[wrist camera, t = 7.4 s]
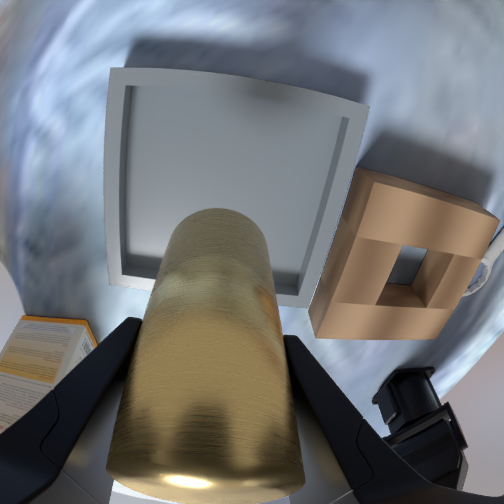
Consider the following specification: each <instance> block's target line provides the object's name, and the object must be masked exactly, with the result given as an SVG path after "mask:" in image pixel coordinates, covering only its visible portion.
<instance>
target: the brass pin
mask: <svg viewBox="0 0 504 504" xmlns="http://www.w3.org/2000/svg"><path fill="white" fill-rule="evenodd" d="M106 471H107V472H108V474H109V475H110V476H111V477H112V478H113V479H114V480H116V481H117V482H119V483H120V484H122V485H124V486H126V487H128V488H130V489H132V490H135V491H137V492H140V493H142V494H145V495H148V496H152V497H155V498H159V499H163V500H167V501H172V502H177V503H184V504H258V503H263V502H268V501H272V500H276V499H280V498H283V497H286V496H288V495H291V494H293V493H295V492H297V491H298V490H300V489H301V488H302V487H303V486H304V484H305V473H304V466H303V459H302V453H301V446H300V440H299V433H298V426H297V420H296V414H295V407H294V401H293V395H292V388H291V382H290V376H289V370H288V364H287V357H286V351H285V345H284V339H283V333H282V327H281V321H280V316H279V310H278V304H277V298H276V292H275V286H274V281H273V275H272V269H271V264H270V258H269V252H268V247H267V242H266V239H265V237H264V234H263V232H262V231H261V229H260V228H259V227H258V226H257V225H256V223H255V222H253V221H252V220H251V219H250V218H248V217H247V216H245V215H243V214H241V213H239V212H237V211H234V210H230V209H225V208H209V209H203V210H200V211H197V212H195V213H193V214H191V215H189V216H187V217H186V218H185V219H183V220H182V221H181V222H180V223H179V224H178V225H177V226H176V228H175V230H174V231H173V233H172V235H171V238H170V240H169V243H168V246H167V249H166V251H165V254H164V257H163V260H162V263H161V266H160V268H159V271H158V274H157V277H156V280H155V283H154V286H153V289H152V292H151V295H150V298H149V301H148V304H147V308H146V311H145V314H144V317H143V320H142V324H141V327H140V330H139V334H138V337H137V340H136V344H135V347H134V351H133V354H132V358H131V361H130V365H129V369H128V372H127V376H126V380H125V384H124V388H123V392H122V396H121V400H120V404H119V408H118V412H117V416H116V421H115V425H114V429H113V434H112V439H111V443H110V448H109V453H108V458H107V463H106Z"/></svg>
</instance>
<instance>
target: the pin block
mask: <svg viewBox="0 0 504 504" xmlns="http://www.w3.org/2000/svg"><path fill="white" fill-rule="evenodd" d="M499 221H500V220H499V219H498V218H496V217H495V216H494V215H493V214H491V213H490V212H489V211H487V210H486V209H485V208H483V207H482V206H480V205H479V204H477V203H475V202H472V201H469V200H466V199H463V198H461V197H458V196H455V195H452V194H449V193H446V192H443V191H440V190H437V189H434V188H431V187H427V186H424V185H421V184H418V183H414V182H411V181H408V180H404V179H401V178H397V177H394V176H390V175H386V174H383V173H379V172H375V171H371V170H367V169H363V168H359V167H356V168H355V171H354V175H353V178H352V182H351V185H350V188H349V192H348V195H347V198H346V202H345V205H344V208H343V211H342V215H341V218H340V221H339V224H338V227H337V230H336V233H335V236H334V239H333V243H332V246H331V249H330V251H329V254H328V257H327V260H326V263H325V266H324V269H323V272H322V275H321V277H320V280H319V283H318V286H317V289H316V291H315V294H314V297H313V300H312V302H311V305H310V308H309V310H308V313H309V316H310V320H311V324H312V327H313V331H314V335H315V338H322V339H353V340H419V339H436V338H437V336H438V335H439V333H440V332H441V330H442V329H443V327H444V326H445V324H446V323H447V321H448V319H449V318H450V316H451V315H452V313H453V311H454V310H455V308H456V306H457V305H458V303H459V301H460V300H461V298H462V296H463V294H464V293H465V291H466V289H467V287H468V285H469V284H470V282H471V280H472V278H473V276H474V274H475V272H476V270H477V268H478V267H479V265H480V263H481V261H482V259H483V257H484V254H485V252H486V250H487V248H488V246H489V244H490V242H491V240H492V237H493V235H494V233H495V231H496V228H497V226H498V224H499ZM402 245H407V246H413V247H418V248H424V249H428V251H427V253H426V255H425V257H424V260H423V262H422V264H421V266H420V268H419V270H418V272H417V274H416V276H415V278H414V280H413V282H412V284H411V286H410V285H400V284H390V283H386V281H387V279H388V277H389V275H390V273H391V270H392V268H393V266H394V264H395V261H396V259H397V257H398V255H399V252H400V250H401V248H402Z"/></svg>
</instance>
